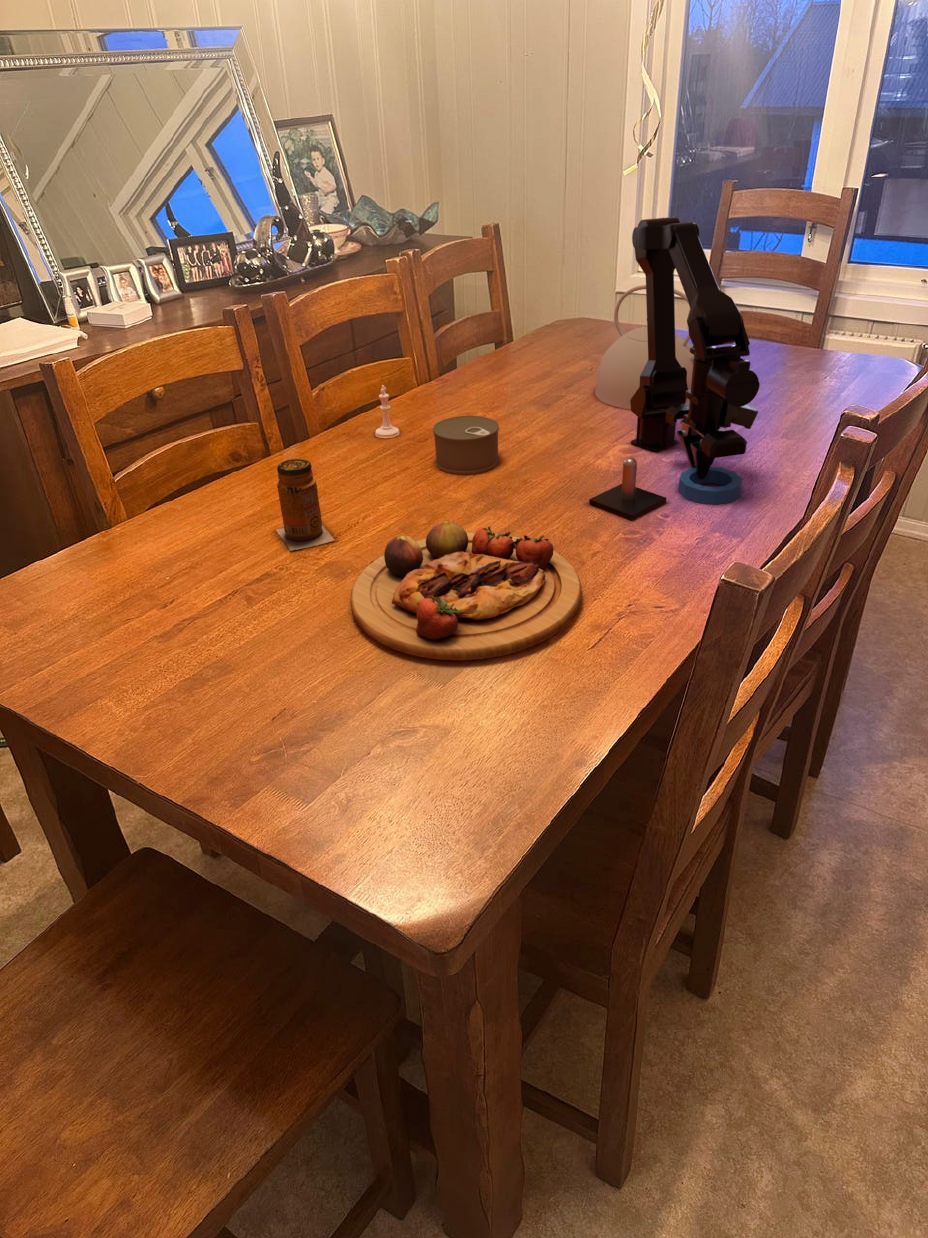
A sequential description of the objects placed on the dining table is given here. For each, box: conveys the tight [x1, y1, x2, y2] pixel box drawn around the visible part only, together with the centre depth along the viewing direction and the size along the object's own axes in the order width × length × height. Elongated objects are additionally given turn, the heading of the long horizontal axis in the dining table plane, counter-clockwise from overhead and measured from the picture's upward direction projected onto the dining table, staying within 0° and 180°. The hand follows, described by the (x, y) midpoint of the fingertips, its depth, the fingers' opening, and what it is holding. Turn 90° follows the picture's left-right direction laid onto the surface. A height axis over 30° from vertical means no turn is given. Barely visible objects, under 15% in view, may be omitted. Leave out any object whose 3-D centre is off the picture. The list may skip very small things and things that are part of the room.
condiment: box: [275, 458, 336, 552], centre depth 137 cm, size 7×8×12 cm
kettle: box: [595, 284, 694, 411], centre depth 184 cm, size 25×23×22 cm
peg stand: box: [588, 456, 667, 521], centre depth 142 cm, size 9×9×8 cm
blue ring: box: [677, 466, 743, 505], centre depth 147 cm, size 10×10×2 cm
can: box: [432, 415, 500, 476], centre depth 161 cm, size 12×12×7 cm
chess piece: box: [374, 384, 401, 439], centre depth 174 cm, size 5×5×10 cm
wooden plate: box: [349, 519, 583, 661], centre depth 119 cm, size 32×32×8 cm
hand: (699, 476), depth 150 cm, fingers closed on blue ring, 2 cm apart
